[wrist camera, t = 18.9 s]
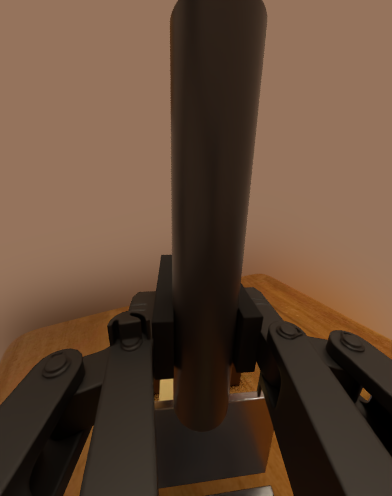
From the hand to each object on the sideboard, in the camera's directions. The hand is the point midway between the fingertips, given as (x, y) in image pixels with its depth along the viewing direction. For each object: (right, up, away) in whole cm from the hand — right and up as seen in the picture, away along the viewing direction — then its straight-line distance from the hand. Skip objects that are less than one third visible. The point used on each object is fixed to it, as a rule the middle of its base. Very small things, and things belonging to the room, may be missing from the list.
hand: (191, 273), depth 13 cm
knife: (0, -11, -2) cm, 12 cm away
